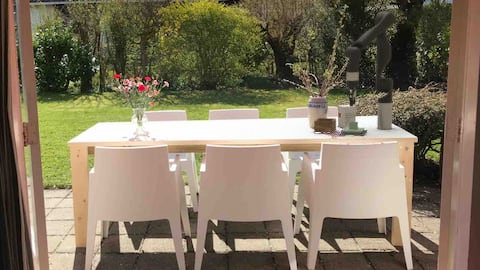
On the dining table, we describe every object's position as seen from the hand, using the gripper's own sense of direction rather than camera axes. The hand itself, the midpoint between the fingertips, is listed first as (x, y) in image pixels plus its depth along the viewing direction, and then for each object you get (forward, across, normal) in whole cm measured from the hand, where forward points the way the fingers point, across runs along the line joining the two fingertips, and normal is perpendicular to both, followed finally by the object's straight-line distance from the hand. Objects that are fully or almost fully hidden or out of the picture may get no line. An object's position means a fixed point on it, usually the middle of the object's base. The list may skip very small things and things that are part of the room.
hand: (352, 105), depth 321 cm
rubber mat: (+18, +1, 0) cm, 18 cm away
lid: (+17, +1, +1) cm, 17 cm away
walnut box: (+18, -1, -18) cm, 25 cm away
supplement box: (+19, -21, -7) cm, 29 cm away
